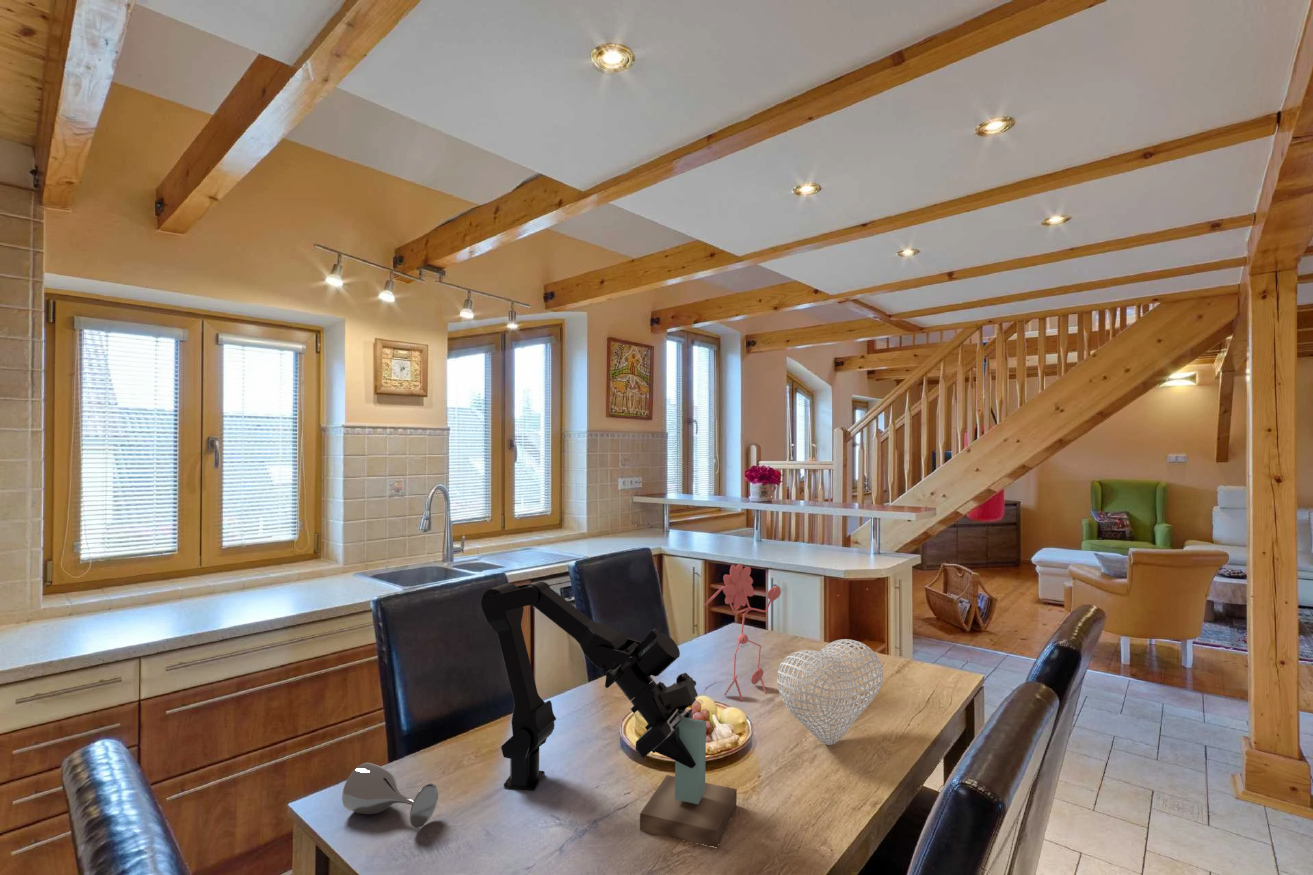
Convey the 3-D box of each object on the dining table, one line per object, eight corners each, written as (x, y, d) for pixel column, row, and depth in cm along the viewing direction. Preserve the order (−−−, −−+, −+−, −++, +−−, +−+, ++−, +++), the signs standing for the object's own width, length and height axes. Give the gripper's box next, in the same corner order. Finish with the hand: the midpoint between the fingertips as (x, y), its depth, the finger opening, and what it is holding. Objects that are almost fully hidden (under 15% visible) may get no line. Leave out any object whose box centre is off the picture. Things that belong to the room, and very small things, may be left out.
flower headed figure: (789, 687, 180) (787, 562, 181) (722, 710, 164) (720, 572, 165) (749, 672, 192) (748, 555, 193) (683, 692, 176) (682, 564, 177)
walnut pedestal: (639, 830, 112) (640, 813, 112) (666, 790, 126) (666, 775, 126) (717, 848, 108) (717, 831, 108) (736, 805, 121) (736, 789, 121)
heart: (840, 717, 160) (840, 628, 161) (895, 740, 148) (896, 644, 148) (762, 748, 144) (763, 648, 144) (817, 777, 131) (818, 668, 131)
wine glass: (436, 771, 116) (372, 753, 121) (404, 804, 109) (338, 783, 114) (442, 807, 118) (378, 788, 123) (411, 842, 110) (345, 820, 116)
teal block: (674, 799, 115) (675, 727, 115) (682, 787, 119) (683, 717, 120) (698, 804, 114) (699, 731, 114) (705, 792, 118) (706, 721, 118)
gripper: (653, 681, 109) (715, 758, 106) (686, 649, 127) (740, 714, 123) (610, 720, 112) (669, 796, 108) (648, 683, 130) (700, 748, 126)
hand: (697, 760), depth 116 cm, fingers closed on teal block, 4 cm apart
